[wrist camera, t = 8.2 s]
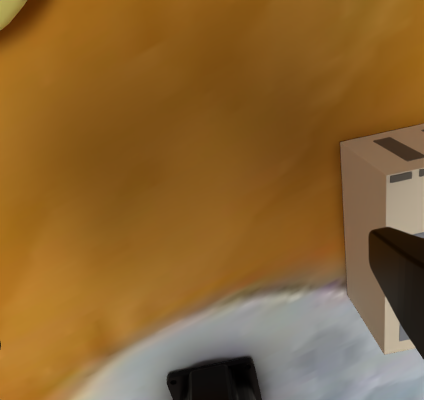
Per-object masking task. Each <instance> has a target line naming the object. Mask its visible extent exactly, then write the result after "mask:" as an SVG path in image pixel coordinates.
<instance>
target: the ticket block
mask: <svg viewBox="0 0 424 400" xmlns="http://www.w3.org/2000/svg"><path fill="white" fill-rule="evenodd" d="M340 151H341V172H342V193H343V214H344V234H345V255H346V276H347V295H348V297H349V298H350V300H351V301H352V303H353V305H354V306H355V308H356V309H357V311H358V313H359V314H360V316H361V318H362V319H363V321H364V322H365V324H366V326H367V327H368V329H369V330H370V332H371V334H372V335H373V337H374V339H375V340H376V342H377V343H378V345H379V347H380V348H381V350H382V352H383V353H384V355H385V354H390V353H395V352H399V351H404V350H409V349H414V348H416V347H415V346H414V345H413V343H412V342H411V340H410V339H409V337H408V336H407V334H406V333H405V331H404V329H403V328H402V326H401V324H400V323H399V321H398V319H397V317H396V315H395V313H394V312H393V310H392V308H391V306H390V304H389V302H388V300H387V298H386V297H385V295H384V293H383V291H382V289H381V287H380V285H379V283H378V282H377V280H376V278H375V276H374V274H373V272H372V270H371V268H370V264H369V245H368V236H369V232H370V231H371V230H373V229H378V228H383V227H391V228H394V229H397V230H400V231H403V232H406V233H409V234H412V235H415V236H418V237H421V238H424V124H420V125H416V126H411V127H407V128H402V129H397V130H393V131H388V132H384V133H379V134H375V135H370V136H366V137H361V138H356V139H352V140H347V141H343V142H340Z"/></svg>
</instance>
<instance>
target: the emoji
mask: <svg viewBox="0 0 424 400" xmlns="http://www.w3.org/2000/svg"><path fill="white" fill-rule="evenodd" d="M26 2H27V0H0V31H1V30H2V29H3V28H4V27H5V26H7V25H8V24H9V23H10V22H11V21H12V19H13V18H14V17H15V16H16V15H17V13H18V12H19V11H20V10H21V9H22V7H23V6H24V5H25V3H26Z"/></svg>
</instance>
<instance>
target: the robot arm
mask: <svg viewBox="0 0 424 400" xmlns="http://www.w3.org/2000/svg"><path fill="white" fill-rule="evenodd" d="M368 245H369V264H370V268H371V270H372V272H373V274H374V276H375V278H376V280H377V282H378V283H379V285H380V287H381V289H382V291H383V293H384V295H385V297H386V298H387V300H388V302H389V304H390V306H391V308H392V310H393V312H394V313H395V315H396V317H397V319H398V321H399V323H400V324H401V326H402V328H403V329H404V331H405V333H406V334H407V336H408V337H409V339H410V340H411V342H412V343H413V345H414V346H415V347H416V349H417V350H418V352H419V353H420V355H421V356H422V358H423V359H424V238H421V237H418V236H415V235H412V234H409V233H406V232H403V231H400V230H397V229H394V228H391V227H383V228H378V229H373V230H371V231H370V232H369V236H368ZM0 348H1V343H0ZM167 385H168V388H169V391H170V393H171V396H172V398H173V400H262V398H261V394H260V389H259V384H258V380H257V375H256V371H255V366H254V362H253V360H252V359H251V358H242V359H238V360H233V361H228V362H223V363H218V364H213V365H209V366H204V367H199V368H194V369H189V370H184V371H180V372H175V373H171V374H169V375H168V376H167Z"/></svg>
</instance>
